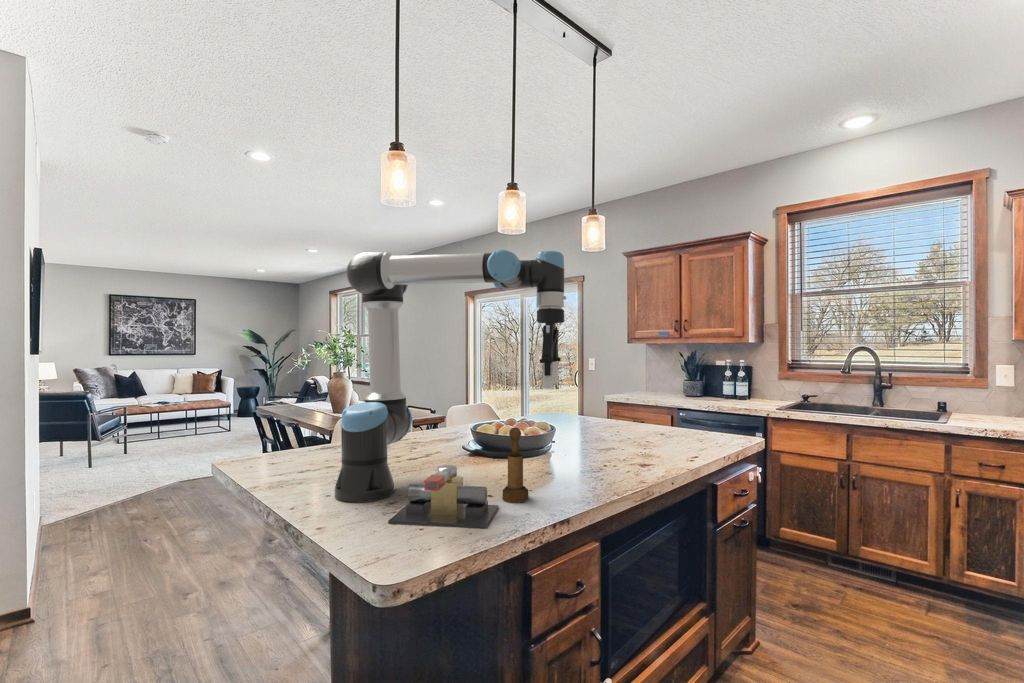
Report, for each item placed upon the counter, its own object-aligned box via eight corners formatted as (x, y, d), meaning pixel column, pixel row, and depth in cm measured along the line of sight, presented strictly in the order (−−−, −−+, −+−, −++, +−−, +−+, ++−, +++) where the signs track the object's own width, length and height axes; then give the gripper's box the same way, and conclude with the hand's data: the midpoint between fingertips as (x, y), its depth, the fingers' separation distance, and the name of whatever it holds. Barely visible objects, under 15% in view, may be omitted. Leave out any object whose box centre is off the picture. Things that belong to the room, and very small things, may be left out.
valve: (388, 523, 112) (388, 485, 112) (410, 503, 126) (410, 470, 126) (486, 528, 109) (486, 489, 109) (498, 507, 122) (498, 472, 123)
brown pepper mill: (519, 504, 125) (519, 430, 125) (497, 500, 128) (497, 428, 128) (533, 497, 130) (532, 427, 131) (511, 493, 134) (511, 425, 134)
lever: (441, 473, 121) (440, 464, 121) (459, 473, 121) (458, 465, 121) (421, 490, 107) (421, 480, 107) (441, 490, 107) (441, 481, 107)
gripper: (560, 304, 127) (560, 390, 127) (567, 311, 151) (567, 383, 151) (530, 305, 128) (530, 389, 128) (542, 311, 153) (542, 382, 153)
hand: (550, 386), depth 140 cm, fingers open, 13 cm apart
